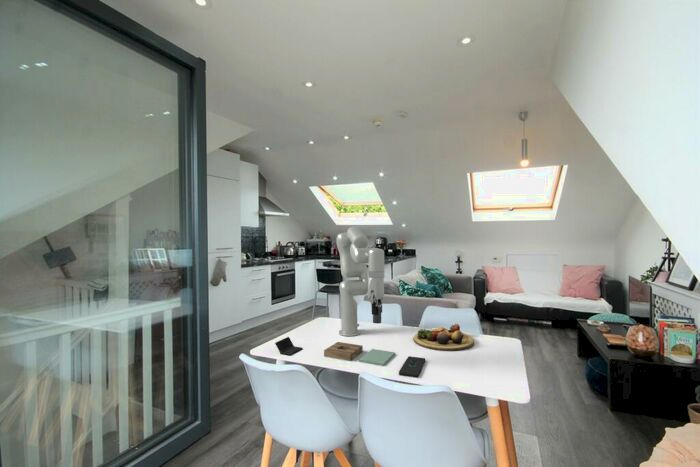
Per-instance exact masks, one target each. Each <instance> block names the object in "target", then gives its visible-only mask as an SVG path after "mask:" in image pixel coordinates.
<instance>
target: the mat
mask: <svg viewBox="0 0 700 467" xmlns="http://www.w3.org/2000/svg"><path fill="white" fill-rule="evenodd" d="M395 355H396V352H395V351H391V350H390V351H389V350H383V349H382V350H381V349H375V348H371V349H370V350H369V351H368V352H366V353H365V354H364V355H363V356H361V357H360V358H359V359H358V362H359V363H364V364H371V365H375V366H376V365H377V366H380V367H384V366H385V365H386V364H387V363H388V362H389V361H391V359H392V358H393V357H394V356H395Z"/></svg>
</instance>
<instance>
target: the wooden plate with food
mask: <svg viewBox="0 0 700 467" xmlns="http://www.w3.org/2000/svg"><path fill="white" fill-rule="evenodd" d="M460 329H461V326H460V325H459V323H455V324H452V325H451V326H449V329H448V328H445V327H441V326H440V327H437V328H434V329H429V330H428V329H427V330H426V328H425V327H424V328H423V329H422V328H421V329H419V330H418V331H417V333H416V334H414V336H413V338H412V340H413V342H414V343H415V344H416V346H417V345H418V346H420V347H422V348H425V349H429V350H433V351H437V352H438V351H440V352H458V351H464V350H468V349H471V348H472V347H473V346H474V345H475V339H474V338H473V337H472V336H471V335H469V334H467V333H465V332H462V331H461V330H460Z"/></svg>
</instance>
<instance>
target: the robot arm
mask: <svg viewBox="0 0 700 467" xmlns="http://www.w3.org/2000/svg"><path fill="white" fill-rule="evenodd" d="M373 237H374V232H373V228H371V227H370V226H367V225H353V226H350V227H349V228H348V229H347V231H345V232H340V233H338V234H337V236H336V247H337V250H338V253H339V260H340V273H341V276H342V277H343V278H348V279H346V280H343V281H341V282H340V283H339V285H338V286H339V288H338V289H339V293H340V302H341V303H340V306H341V307H340V311H341V313H340V314H341V315H340V318H341V319H340V322H341V329H340V330H339V331H338V334H339V335H340V336H342V337H355V336H358V335H360V334H361V330H359V329H358V328H359V326H360V324H359V323H358V303H357V301H356V300H355V298H354V297H359V296H367V299H368V300H369V302H370V304H371V306H370V307H371V315H372V316H373V315H378V303H381V314H382V313H383V298H384V297H385V281H384V279H385V278H386V277H385V251H384V249H382V248H378V247H368V246H369V244H370V242H371V241H372V239H373ZM366 264H368V266H367V265H366ZM350 278H353V279H350ZM354 278H358V279H354Z"/></svg>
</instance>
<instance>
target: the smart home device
mask: <svg viewBox="0 0 700 467" xmlns="http://www.w3.org/2000/svg"><path fill="white" fill-rule="evenodd" d="M425 363H426V358H425V357H418V356H412V355H411V356H410V355H409V356H408V357H407V358H406V359H405V361H404V363H403V364H402V366H401V368H400V369H399V371H398V376H401V377H402V376H403V377H407V378H408V377H409V378H416V379H418V378H419V376H420V375H421V373H422V371H423V367H424V365H425Z"/></svg>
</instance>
